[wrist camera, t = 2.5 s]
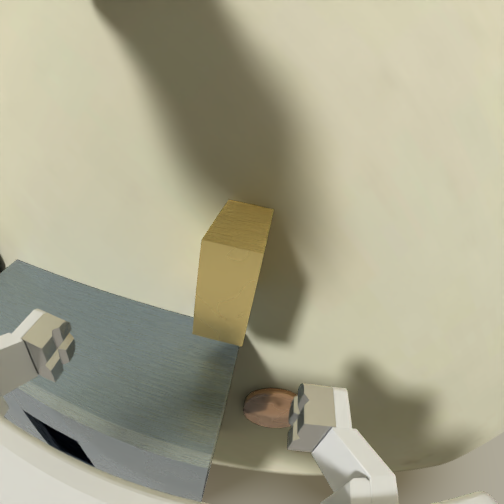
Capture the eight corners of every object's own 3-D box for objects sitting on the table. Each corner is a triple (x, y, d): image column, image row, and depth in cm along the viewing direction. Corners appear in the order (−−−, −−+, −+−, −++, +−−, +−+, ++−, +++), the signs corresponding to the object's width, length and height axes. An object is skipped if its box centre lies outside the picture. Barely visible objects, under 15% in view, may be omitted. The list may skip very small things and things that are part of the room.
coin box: (242, 329, 20) (207, 468, 11) (219, 431, 27) (197, 517, 18) (17, 259, 21) (-60, 327, 12) (52, 370, 28) (10, 433, 19)
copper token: (312, 391, 23) (311, 403, 22) (294, 420, 25) (294, 431, 24) (251, 380, 23) (248, 391, 22) (241, 411, 25) (239, 421, 24)
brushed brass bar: (274, 209, 16) (263, 254, 12) (256, 287, 18) (242, 346, 14) (228, 199, 16) (201, 239, 12) (216, 278, 18) (192, 333, 14)
